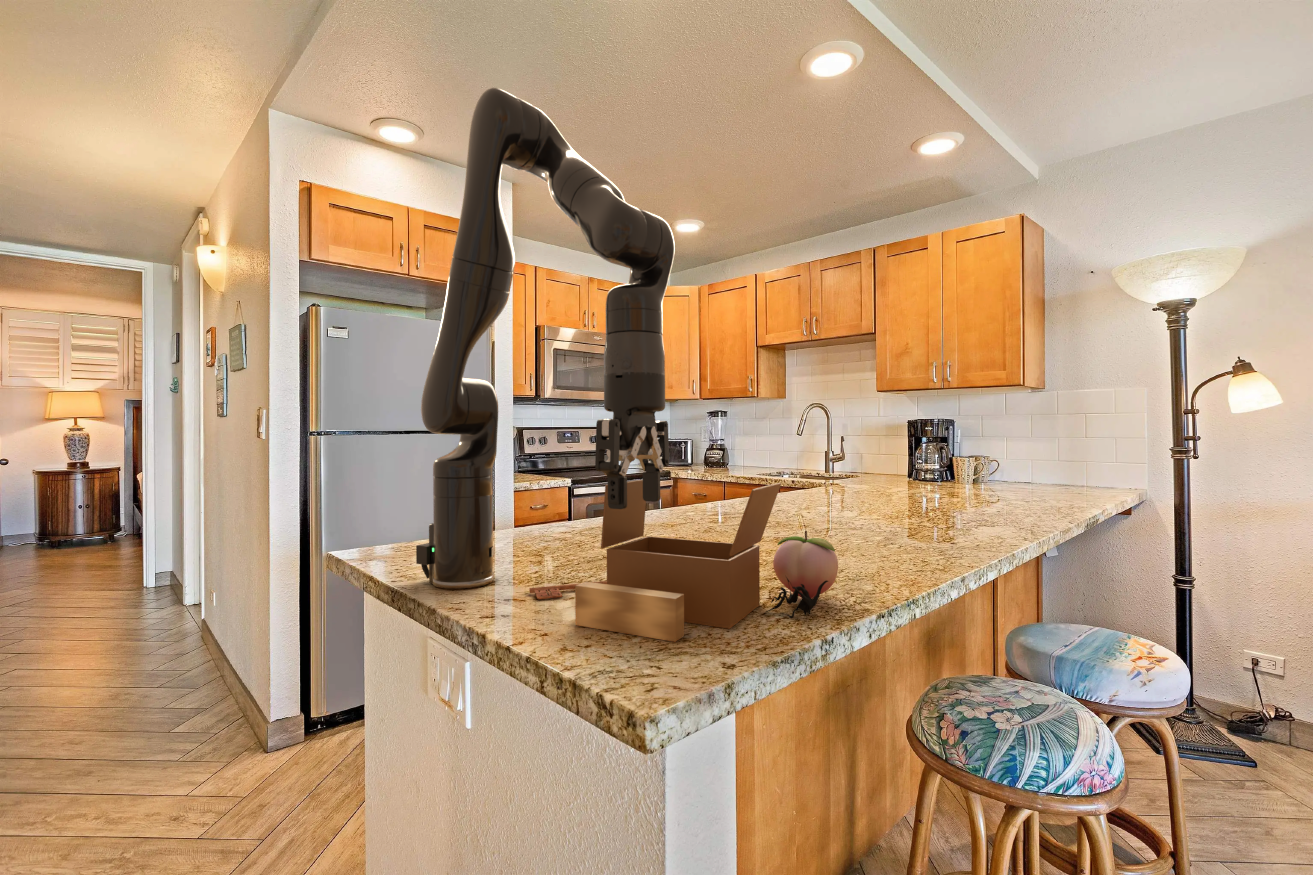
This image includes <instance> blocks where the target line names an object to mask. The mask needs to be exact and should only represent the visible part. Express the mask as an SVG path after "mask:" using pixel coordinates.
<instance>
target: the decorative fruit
mask: <svg viewBox="0 0 1313 875" xmlns="http://www.w3.org/2000/svg"><path fill="white" fill-rule="evenodd" d="M777 546H779V547H777V550H776V552H775V553H774V557H773V562H772V565H773V572H774V573H775V576H776V577H777V579H778V581H779V582H780V583H781V584H782V585H783V586H784V588H785V589H787V590H789V592H790V591H791V593H792V594H793V593H794V591H795V589H793V588H792V586H793V587H798V586H801V584H803V585H804V586H805V589H806V590H807V591H808V593H809V596H810V598H811V599H812V598H814V597H815V596H816V594H817V590H818V587H819V586H820V585H821V584H822V583H823V582H824V581H828V582H826V583H825V584H824V585H823V587H822V589H821V593H820V595H822V594H824V593H825V592H827V591H828V590H829V589H831V587H832V586H833V585H834V584H835V581H836V579H837V576H838V573H839V572H838V570H839V560H838V559H839V558H838V556H837V554H836V550H835V547H834V545H833V544H832V543H831V542H829V540H827V539H825V538H821V537H812V538H808V531H807V530H804V537H802V536H798V535H794V536H793V535H792V536H787V537H782V538H781V539H780V540H779V541H778V543H777ZM785 575H786V576H785ZM786 577H787V578H788V580H789V581H790V582H789V584H788V580H787V578H786ZM790 583H791V584H790ZM791 585H792V586H791ZM789 587H790V588H789ZM801 587H802V586H801ZM800 592H801V593H802V591H800ZM802 594H803V593H802ZM798 598H801V599H802V597H801V595H800V594H799V593H798Z"/></svg>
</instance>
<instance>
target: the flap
mask: <svg viewBox="0 0 1313 875" xmlns="http://www.w3.org/2000/svg"><path fill="white" fill-rule="evenodd" d="M781 485H782V482H777V483H772V484H768V485H765V486H760V487H757V488H752V489H751V491H750V494H749V497H748V500H747V503H746V505H745V508H744V511H743V514H742V517H741V520H740V523H739V525H738V528H737V531H736V534H735V537H734V540H733V542H732V543H733V545H732V548H731V551H730V554H729V555H730V556H732V555H734V554H736V553H738V552H740V551H742V550H744V549H746V548H748V547H750V546H752V545H757V544H758V543H761V541H762V539H763V535H764V533H765V531H766V527H767V525H768V521H769V519H770V517H771V513H772V512H773V511H772V510H773V509H774V505H775V502H776V500H777V497H778V494H779V491H780V488H781Z"/></svg>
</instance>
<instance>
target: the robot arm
mask: <svg viewBox="0 0 1313 875" xmlns="http://www.w3.org/2000/svg"><path fill="white" fill-rule="evenodd" d="M468 136H469V137H468V144H467V145H468V146H467V156H466V166H465V167H466V168H465V177H464V188H463V197H462V203H461V209H460V215H459V222H458V228H457V232H456V237H455V243H454V247H453V252H452V257H451V261H450V266H449V271H448V272H449V273H448V279H447V285H446V292H445V298H444V299H445V300H444V305H443V310H442V314H441V320H440V326H439V330H438V334H437V338H436V342H435V346H434V350H433V354H432V357H431V361H430V364H429V367H428V370H427V374H426V378H425V382H424V385H423V390H422V395H421V401H420V402H421V403H420V413H421V420H422V424H423V425H424V428H425V429H426V430H427V431H428V432H430V433H431V434H435V435H459V441H458V444H457V446H456V447H455V448H453V450H451V451H450V452H448V453H446V454H444V455H442V456H440V457H437V458H436V459H435V460H434V462H433V464H432V482H433V483H432V495H433V496H432V497H433V498H432V500H433V502H432V504H433V510H432V511H433V514H432V515H433V520H432V521H433V522H432V523H429V526H428V542H427V543H421V544H417V545H415V559H416V560H415V564H416V565H420V566H421V570H422V572H423V574H424V575H425V577H426V579H428V581H429V584H432V585H433V586H434V587H437V588H440V589H449V590H458V589H459V590H460V589H472V588H478V587H483V586H485V585H489V584H491V583H492V582H494V580H495V579H494V578H495V577H494V576H495V574H494V556H495V554H496V545H495V544H494V495H493V492H494V491H493V489H494V487H493V486H494V484H493V479H494V478H493V470H494V469H493V468H494V465H495V462H496V458H497V452H498V451H497V450H498V448H497V447H498V430H499V429H498V428H499V401H498V400H499V399H498V396H497V392H496V390H495V388H494V386H493V385H492V384H491V382H489V381H488V380H486V379H481V378H473V377H464V374H465V370H466V367H467V364H468V360H469V358H470V356H471V353H472V351H473V349H474V347H475V346H476V344H478V342H479V341H480V339H481V338H482V336H484V334H485V333H486V332H487V331H488V330H489V328H491V326H492V325H493V324H494V322H495V321H496V320H497V319H498V318H499V316H500V315H501V314H502V312H503V311H504V309H505V307H506V305H507V303H508V301H509V297H510V294H511V293H510V292H511V288H512V282H513V277H514V273H515V267H516V254H515V250H514V249H515V248H514V245H513V242H512V237H511V235H510V231H509V228H508V224H507V221H506V219H505V215H504V211H503V207H502V202H501V178H502V169H503V165H504V166H507V167H509V168H511V169H514V170H516V171H522V172H526V173H528V174H531V175H533V176H535V177H536V178H538V179H541V180H542V181H544V182H545V183H546V184H548V190H549V191H548V192H549V193H550V196H551V199H552V200H553V201H554V203H555V205H556V206H557V207H558V208H559V210H560V211H561V212H563V213H564V214H565V215H566V217H568V219H570V220H571V221H572V222H573V223H574V224H575V225H576V226H577V227H579V228H580V231H581V233H582V235H583V237H584V238H585V240H586V243H587V245H588V246H589V248H590V249H591V250H592V252H594V253H595V254H596V255H597V256H598V257H599V258H601V259H603V260H604V261H606V262H608V263H610V264H613V265H616V266H621V267H624V268H627V269H629V278H628V281H627V283H626V284H619V285H617V286H614V287H612V288H611V289H610V290H609V291H608V292H607V293H606V298H605V342H604V343H605V344H604V348H603V349H604V350H603V408H604V410H605V411H607V412H608V413H609V412H610V413H612V418H604V419H603V418H602V419H597V420H596V426H595V459H594V461H595V462H594V463H595V464H594V467H595V471H596V472H601V473H603V474H604V476H605V477H606V478H607V485H608V506H609V508H611V509H624V508H626V507H627V482H628V477H627V473H628V471H629V468H630V466H631V463H632V462H634V461H636V460H638V461H639V463H640V466H641V468H642V471H643V472H642V480H643V500H644V501H646V502H651V503H652V502H654V503H655V502H659V501H660V500H661V473H662V472H663V470H664V467H669V464H670V442H669V439H670V438H669V423H668V420H656V415H655V414H656V413H657V412H662V411H664V410H665V408H666V352H665V345H664V319H663V318H664V316H663V315H664V314H663V303H664V298H665V295H666V292H667V288H668V284H669V280H670V275H671V271H672V268H673V264H674V258H675V252H676V250H675V238H674V234H673V231H672V228H671V227H670V225H669V223H668V222H667V221H666V220H665V219H663V218H662V217H661V216H658V215H656V214H654V213H651V212H649V211H646V210H643V209H641V208H638V207H636V206H633V205H631V204H629V203H628V202H626V200H625V197H624V195H623V193H622V192H621V190H620V189H619V188H618V187H617V186H616V184H614V183H613V181H611V180H610V179H609V178H608V177H607V176H605V175H604V174H603V173H601V172H600V171H599V170H598V169H597V168H595V167H594V166H593V165H592V164H590V163H589V162H588V161H587V160H585V159H584V158H582V157H581V156H580V155H579V154H578V153H577V152H576V151H575V150H574V149H573V148H572V145H570V144H569V142H568V141H567V140H566V139H565V137H564V136H563V135H562V133H561V132H560V131H559V128H557V126H556V124H554V122H553V121H552V120H551V119H550V118H549V117H548V115H547V114H546V113H545V112H544V111H542V110H541V109H539V108H538V107H536V106H534V105H533V104H531V103H529V102H527V101H526V100H523V99H521V98H519V97H518V96H515V95H513V94H511V93H509V92H507V91H506V90H504V89H501V88H497V87H491V88H487V89H485V91H483V93H482V94H481V95H480V96H479V98H478V99H477V102H476V103H475V107H474V110H473V114H472V118H471V122H470V128H469V135H468ZM605 452H606V453H605ZM605 454H606V456H607V459H606V460H605V458H606V457H605Z"/></svg>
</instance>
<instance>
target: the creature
mask: <svg viewBox="0 0 1313 875" xmlns="http://www.w3.org/2000/svg"><path fill="white" fill-rule="evenodd" d="M785 576H786V575H785ZM786 578H787V577H786ZM787 580H788V578H787ZM789 582H790V581H789V580H788V584H789ZM826 582H828V581H824V582H823V583H822V584H821V585H820V586H819V587H818V590H817V594H816V596H815V597H813V598H810V596H809V593H808V591H807V590H806V589H805V586H804V585H803V584H801V586H802V587H801V586H798V587H793V586H792V585H791V586H792V588H793V589H795V591H794V593H793V592H791V591H790V590H789V591H788V590H786V588H785V587H782V586H781V587H780V590H781V591H780V592H779V594H778V596H777V597H776V596H774V597H773V598H772V599H771V603H770V604H772V603H773V602H774V603H777V604H776V605H774V606H773V607H772V608H770V609H768V610H766V611H765V612H764V615H769V614H771V612H770V611H773V610H776V609H779V608H781V606H782V605H783V604H784V602H786V604H788V605H792V604H796V603H797V602H798V600H799V596H798V593H799V594H800V595H801V597H802V598H801V597H800V598H801V599H800V601H799V602H798V604H797V606H796V607H795V608H794V609H793V611H792V613H791V615H790V614H787V613H786V614H785V612H781V614H782V615H783V616H788V617H789V618H790V619H794V616H795V614H796V611H799V610H800V611H802V612H803V614H804V616H806V615H807V614H808V615H811V610H813V608H815V607H816V605H817V603H818V600H819V598H820V596H821V594H820V593H821V589H822V587H823V585H824V584H825V583H826ZM790 584H791V583H790ZM789 588H790V587H789ZM800 591H802V593H803V594H802V593H801V592H800ZM787 593H788V594H789V596H787V595H788V594H787ZM774 600H775V601H774ZM769 612H770V613H769Z"/></svg>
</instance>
